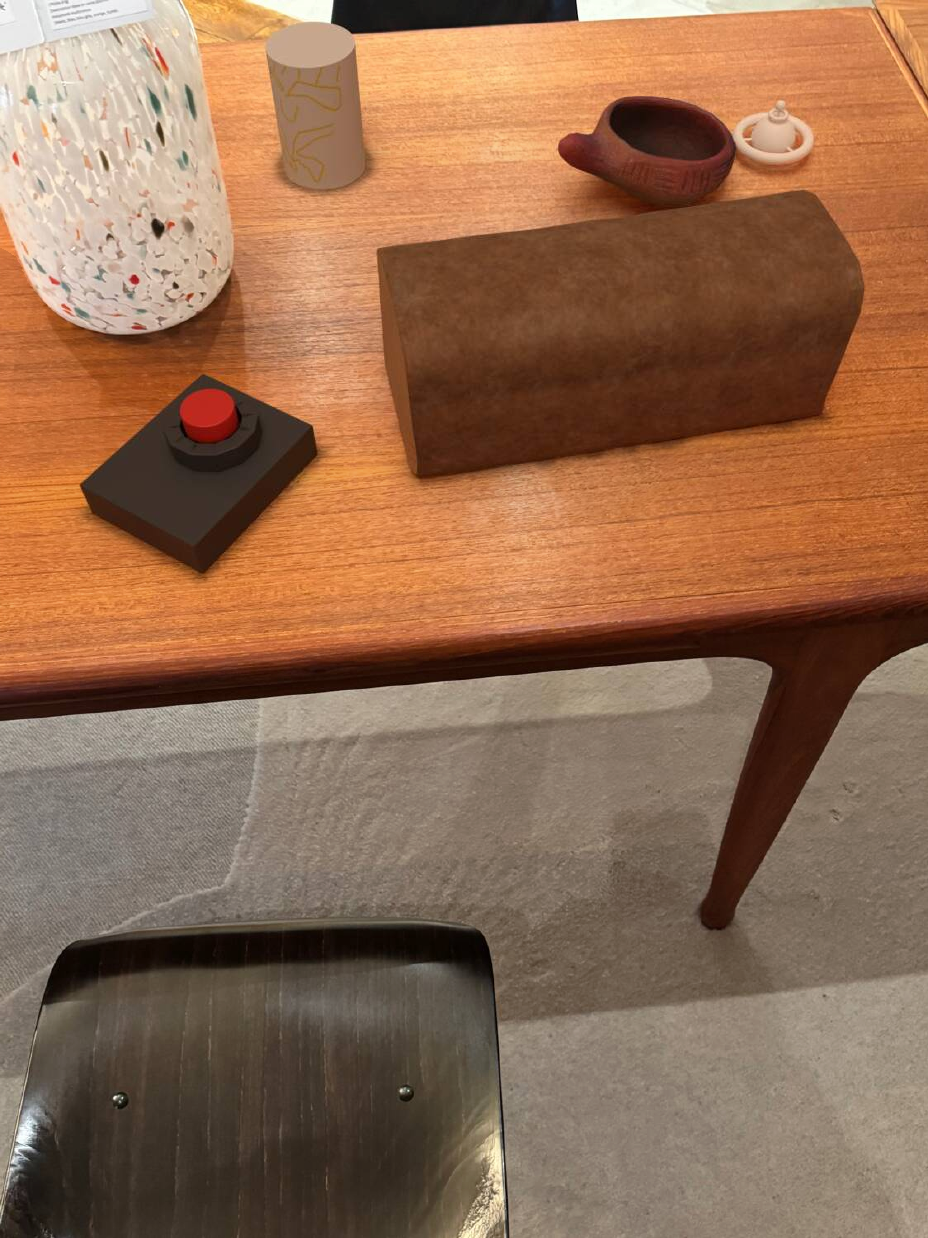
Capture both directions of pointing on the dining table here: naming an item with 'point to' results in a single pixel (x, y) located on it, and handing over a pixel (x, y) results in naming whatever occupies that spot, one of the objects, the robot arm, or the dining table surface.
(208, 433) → the power button
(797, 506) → the dining table surface
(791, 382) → the bread
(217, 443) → the red push button box
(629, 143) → the bowl
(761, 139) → the ring around a ball
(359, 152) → the cup
